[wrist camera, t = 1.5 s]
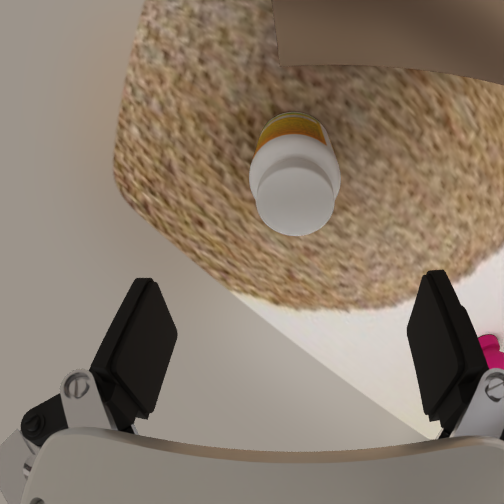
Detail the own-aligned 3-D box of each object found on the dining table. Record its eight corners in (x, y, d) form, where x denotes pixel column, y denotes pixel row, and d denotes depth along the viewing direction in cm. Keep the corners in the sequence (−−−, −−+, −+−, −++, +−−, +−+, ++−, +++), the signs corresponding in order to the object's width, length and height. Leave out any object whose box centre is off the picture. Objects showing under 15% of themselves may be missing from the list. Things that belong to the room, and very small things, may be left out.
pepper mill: (449, 358, 38) (474, 483, 22) (482, 327, 34) (521, 460, 18) (475, 363, 39) (501, 476, 23) (506, 336, 34) (542, 453, 19)
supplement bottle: (244, 137, 23) (219, 194, 16) (301, 96, 21) (307, 131, 13) (287, 187, 26) (283, 263, 18) (342, 152, 23) (367, 216, 16)
